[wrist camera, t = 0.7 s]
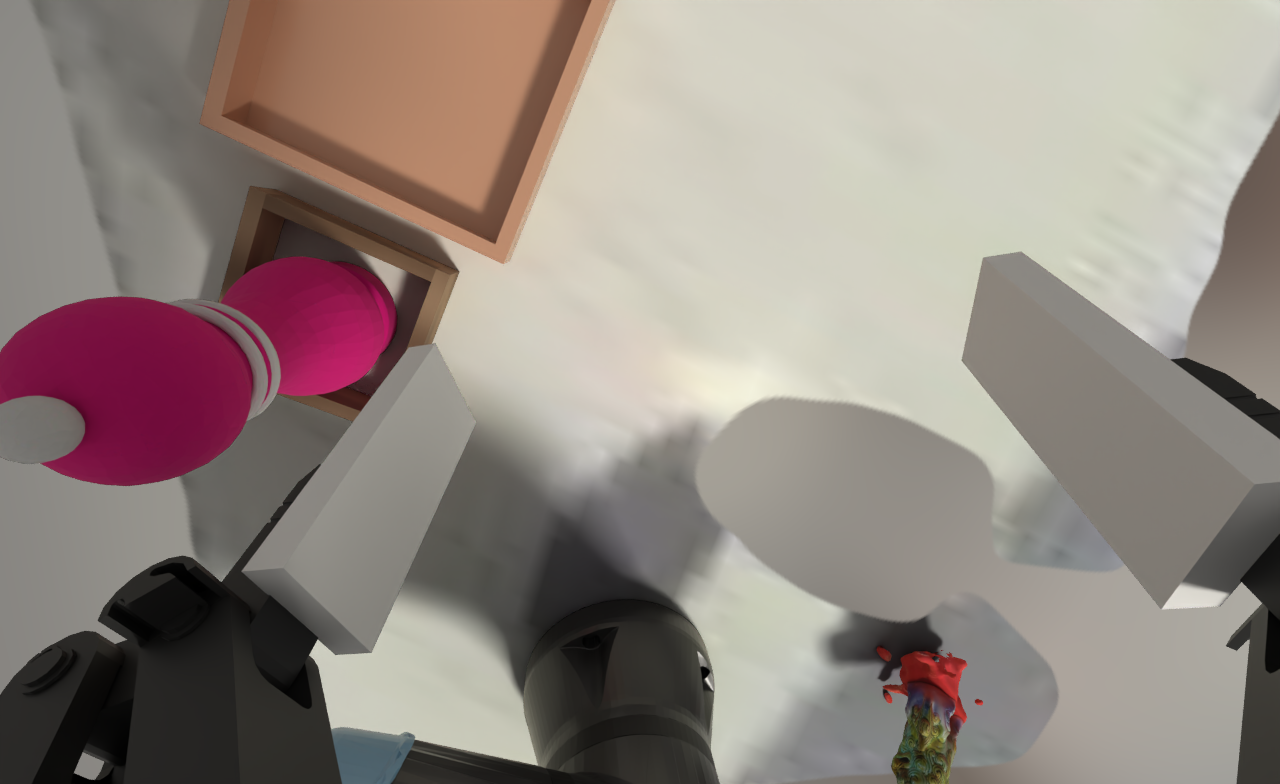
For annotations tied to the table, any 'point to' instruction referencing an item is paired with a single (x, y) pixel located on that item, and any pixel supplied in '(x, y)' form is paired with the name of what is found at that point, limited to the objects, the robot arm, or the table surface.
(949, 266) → the table surface
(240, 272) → the small wooden tray
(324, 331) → the pepper mill
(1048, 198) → the table surface
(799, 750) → the table surface
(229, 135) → the terracotta tray
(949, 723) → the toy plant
